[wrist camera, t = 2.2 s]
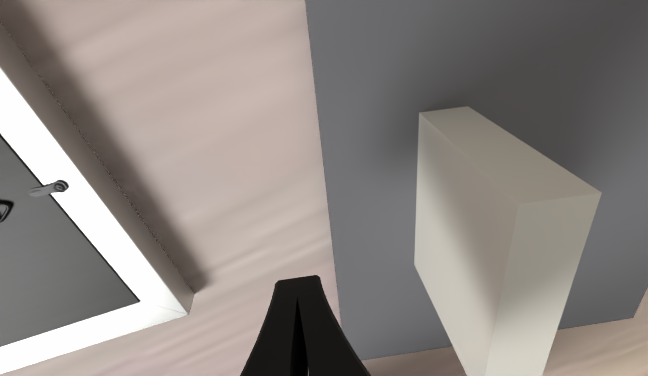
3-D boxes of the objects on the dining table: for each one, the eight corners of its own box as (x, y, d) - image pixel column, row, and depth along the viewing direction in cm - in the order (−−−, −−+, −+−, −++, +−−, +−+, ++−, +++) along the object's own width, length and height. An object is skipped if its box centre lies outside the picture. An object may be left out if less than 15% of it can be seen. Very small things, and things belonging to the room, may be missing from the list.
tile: (452, 258, 18) (536, 392, 12) (414, 264, 18) (479, 402, 12) (467, 106, 15) (601, 192, 8) (419, 112, 14) (519, 204, 8)
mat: (625, 310, 23) (633, 317, 22) (344, 354, 22) (346, 362, 22) (831, -150, 12) (855, -156, 12) (295, -93, 11) (295, -97, 11)
